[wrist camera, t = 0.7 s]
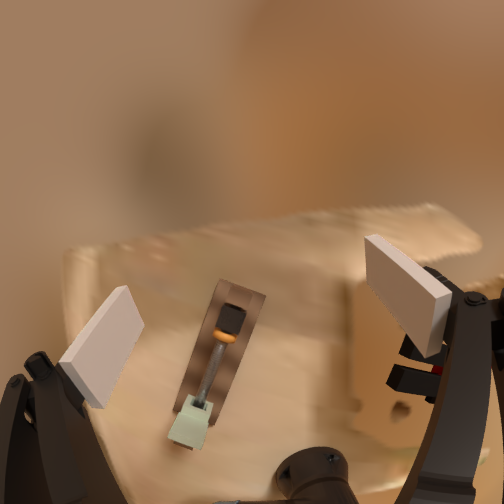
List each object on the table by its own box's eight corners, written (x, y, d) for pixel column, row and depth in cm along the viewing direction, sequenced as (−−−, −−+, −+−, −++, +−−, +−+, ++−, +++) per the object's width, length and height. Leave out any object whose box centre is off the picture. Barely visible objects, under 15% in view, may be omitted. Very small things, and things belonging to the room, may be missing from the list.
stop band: (235, 340, 37) (234, 345, 34) (213, 331, 37) (211, 336, 34) (237, 333, 38) (237, 338, 34) (216, 325, 38) (213, 329, 34)
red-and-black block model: (428, 327, 38) (497, 350, 38) (404, 320, 47) (475, 344, 46) (395, 405, 37) (472, 412, 37) (376, 389, 45) (452, 400, 45)
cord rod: (197, 436, 36) (194, 446, 33) (178, 429, 36) (174, 439, 33) (250, 300, 38) (250, 302, 35) (228, 292, 38) (226, 293, 35)
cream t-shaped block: (206, 423, 37) (197, 457, 27) (180, 413, 37) (164, 444, 27) (214, 403, 37) (206, 436, 27) (187, 393, 37) (172, 423, 27)
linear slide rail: (215, 421, 44) (207, 455, 33) (174, 406, 44) (158, 437, 33) (265, 295, 46) (271, 301, 35) (220, 278, 46) (212, 279, 35)
